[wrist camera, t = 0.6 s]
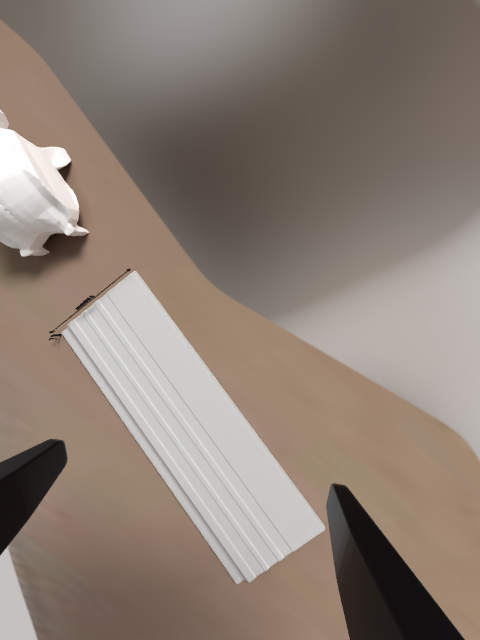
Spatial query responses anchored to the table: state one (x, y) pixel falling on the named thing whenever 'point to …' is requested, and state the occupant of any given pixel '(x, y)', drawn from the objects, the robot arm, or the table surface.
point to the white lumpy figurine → (33, 194)
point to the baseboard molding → (191, 430)
